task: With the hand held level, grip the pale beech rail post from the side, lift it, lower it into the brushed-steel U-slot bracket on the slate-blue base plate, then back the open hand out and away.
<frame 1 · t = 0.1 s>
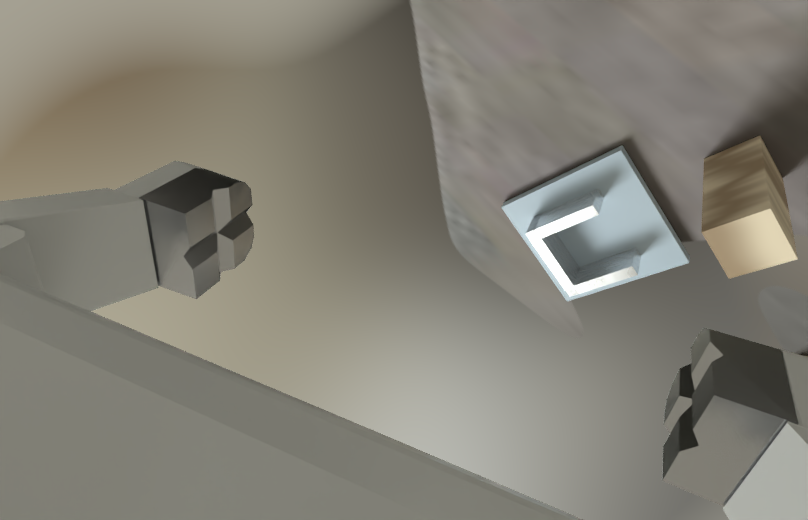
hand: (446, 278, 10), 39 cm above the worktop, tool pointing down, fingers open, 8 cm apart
base plate: (592, 228, 52), on the worktop
beech post: (742, 168, 44), on the worktop
slot bracket: (583, 244, 50), on the base plate, point 2 cm above the worktop
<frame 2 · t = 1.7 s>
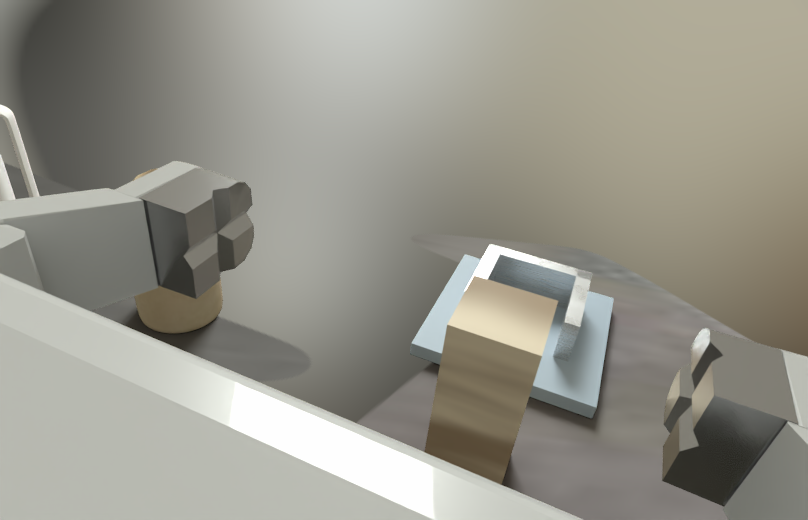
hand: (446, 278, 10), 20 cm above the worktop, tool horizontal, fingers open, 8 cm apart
base plate: (517, 329, 41), on the worktop
candle: (182, 310, 39), on the worktop
beech post: (466, 467, 31), on the worktop
slot bracket: (526, 298, 40), on the base plate, point 2 cm above the worktop
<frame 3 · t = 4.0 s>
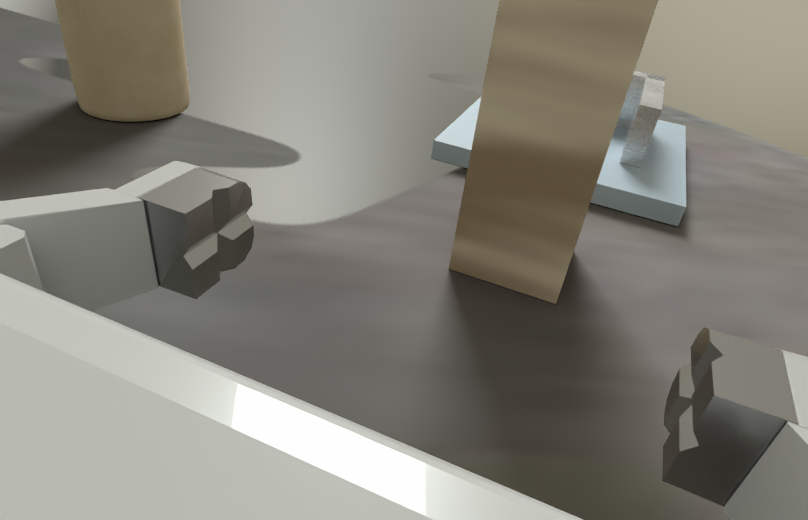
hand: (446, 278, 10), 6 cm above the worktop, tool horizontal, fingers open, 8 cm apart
base plate: (567, 149, 32), on the worktop
candle: (137, 107, 30), on the worktop
beech post: (514, 258, 22), on the worktop
slot bracket: (581, 103, 31), on the base plate, point 2 cm above the worktop
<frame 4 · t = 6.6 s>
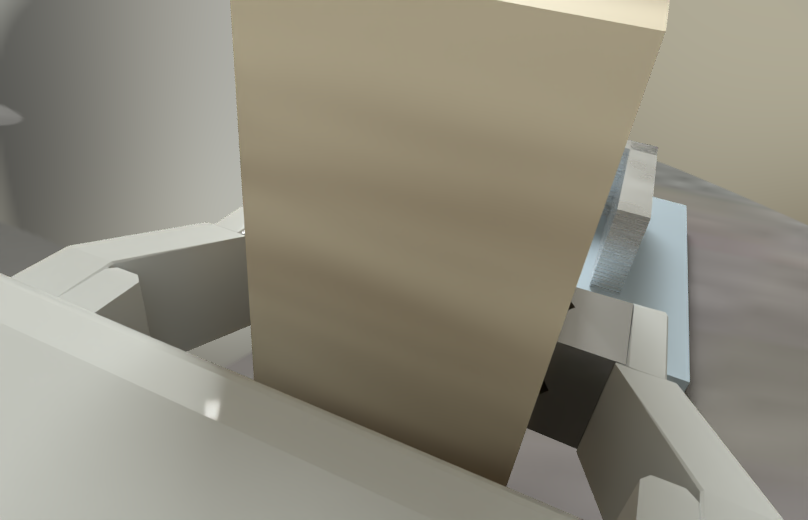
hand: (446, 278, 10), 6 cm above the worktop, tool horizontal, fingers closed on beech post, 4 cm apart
base plate: (520, 247, 23), on the worktop
beech post: (393, 515, 13), on the worktop, touching gripper
slot bracket: (538, 187, 22), on the base plate, point 2 cm above the worktop
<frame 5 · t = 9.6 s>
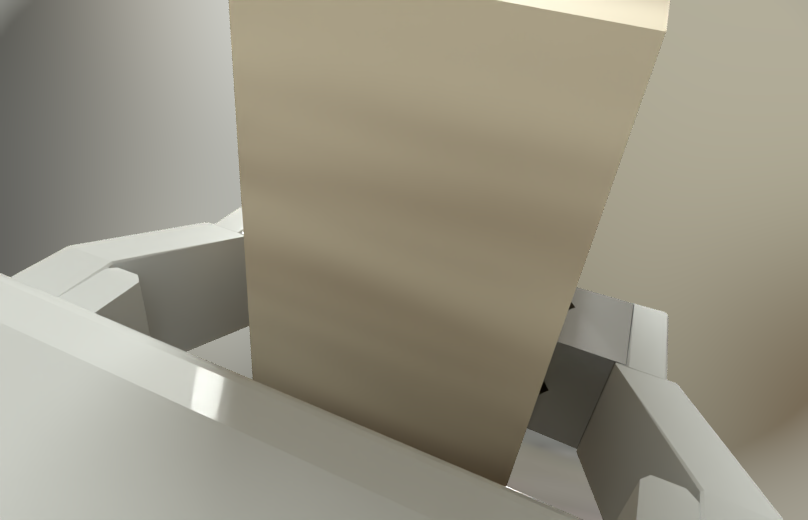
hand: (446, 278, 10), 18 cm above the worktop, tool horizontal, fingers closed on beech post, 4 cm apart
beech post: (392, 516, 13), point 12 cm above the worktop, touching gripper
when the fingers open (8 cm above the worktop, at t = 12.7 s): beech post drops 1 cm, resting on base plate.
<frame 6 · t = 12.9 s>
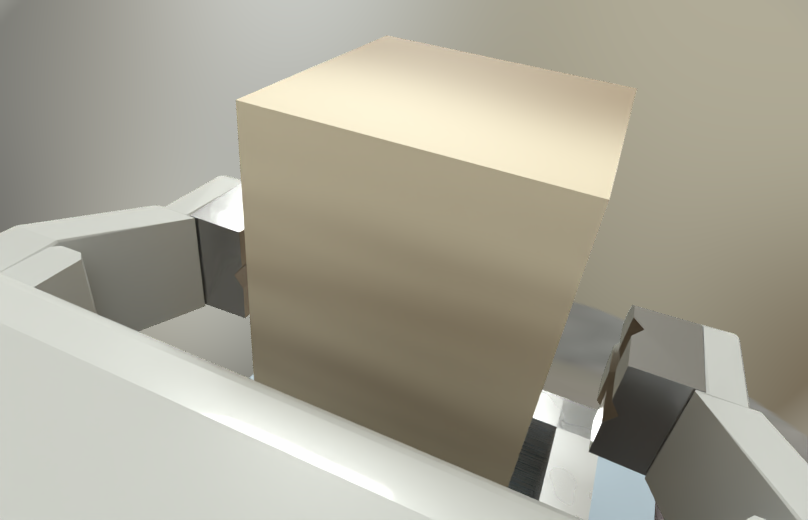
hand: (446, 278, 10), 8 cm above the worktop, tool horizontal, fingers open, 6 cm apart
slot bracket: (402, 495, 13), on the base plate, point 2 cm above the worktop
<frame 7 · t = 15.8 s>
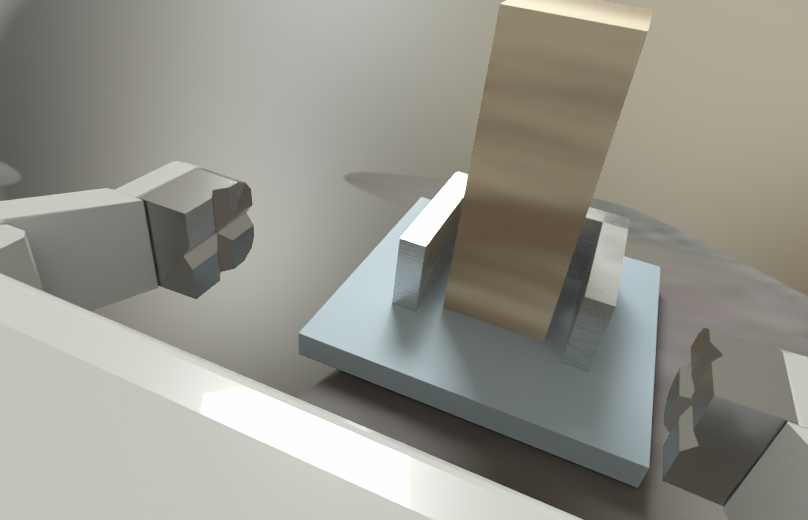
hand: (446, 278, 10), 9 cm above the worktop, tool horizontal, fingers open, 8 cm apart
base plate: (499, 314, 24), on the worktop
beech post: (504, 296, 23), point 1 cm above the worktop, touching base plate
slot bracket: (514, 259, 23), on the base plate, point 2 cm above the worktop
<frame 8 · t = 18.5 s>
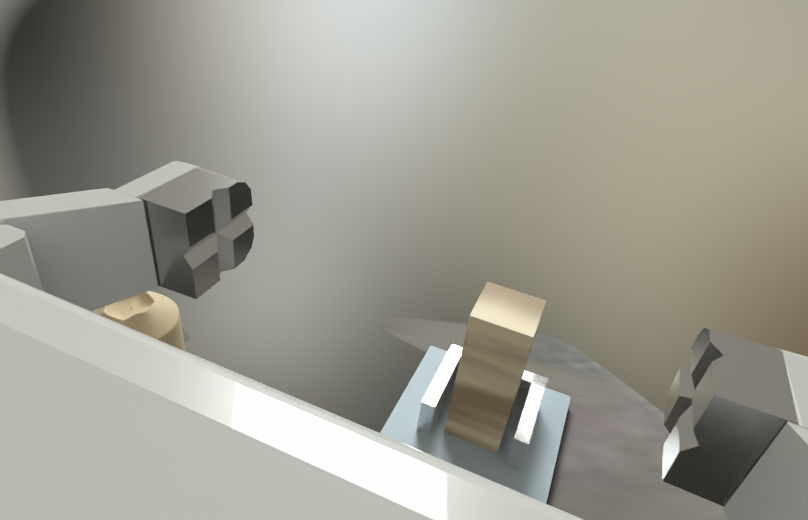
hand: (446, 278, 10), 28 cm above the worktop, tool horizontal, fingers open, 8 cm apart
base plate: (475, 430, 42), on the worktop
candle: (153, 409, 41), on the worktop
beech post: (478, 422, 42), point 1 cm above the worktop, touching base plate
slot bracket: (483, 403, 41), on the base plate, point 2 cm above the worktop
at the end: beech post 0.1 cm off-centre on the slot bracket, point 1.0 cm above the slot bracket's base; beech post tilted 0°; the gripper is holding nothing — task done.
